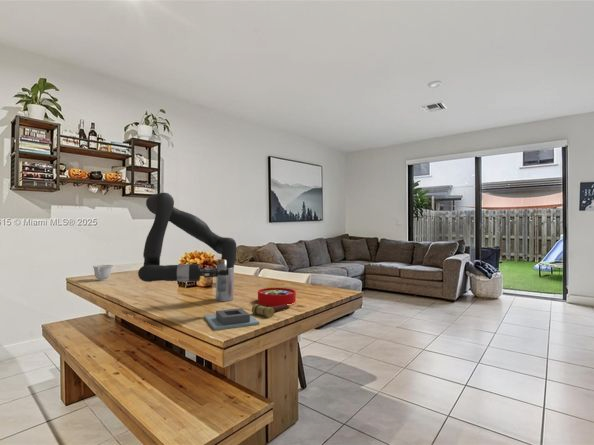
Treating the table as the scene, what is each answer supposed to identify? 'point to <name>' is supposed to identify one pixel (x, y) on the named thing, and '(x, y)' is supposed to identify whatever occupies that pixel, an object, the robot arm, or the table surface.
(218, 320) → the dock
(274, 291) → the toy clock
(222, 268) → the chrome cylinder
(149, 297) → the table surface
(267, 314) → the gavel
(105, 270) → the teacup
